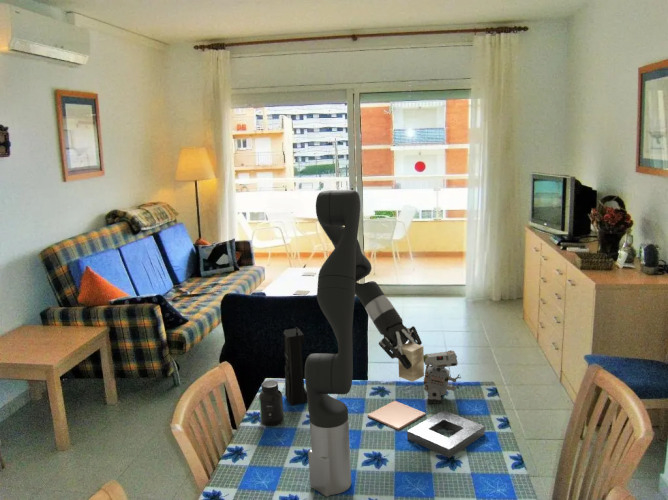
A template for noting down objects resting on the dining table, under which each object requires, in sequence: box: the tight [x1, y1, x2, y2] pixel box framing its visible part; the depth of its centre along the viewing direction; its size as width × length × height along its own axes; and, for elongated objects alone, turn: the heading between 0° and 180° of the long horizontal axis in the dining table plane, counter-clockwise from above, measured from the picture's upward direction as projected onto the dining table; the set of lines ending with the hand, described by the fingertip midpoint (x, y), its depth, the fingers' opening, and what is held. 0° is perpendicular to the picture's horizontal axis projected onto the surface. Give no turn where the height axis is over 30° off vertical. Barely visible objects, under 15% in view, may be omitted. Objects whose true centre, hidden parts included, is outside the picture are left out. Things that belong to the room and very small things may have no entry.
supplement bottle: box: [258, 380, 285, 428], centre depth 176 cm, size 7×7×12 cm
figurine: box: [423, 350, 462, 405], centre depth 185 cm, size 9×12×15 cm
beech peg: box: [398, 343, 425, 383], centre depth 169 cm, size 5×5×9 cm
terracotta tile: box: [367, 400, 426, 431], centre depth 177 cm, size 12×12×1 cm
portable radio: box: [283, 326, 308, 406], centre depth 188 cm, size 8×6×25 cm
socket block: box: [406, 409, 486, 459], centre depth 163 cm, size 16×14×2 cm
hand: (416, 364), depth 167 cm, fingers closed on beech peg, 5 cm apart
